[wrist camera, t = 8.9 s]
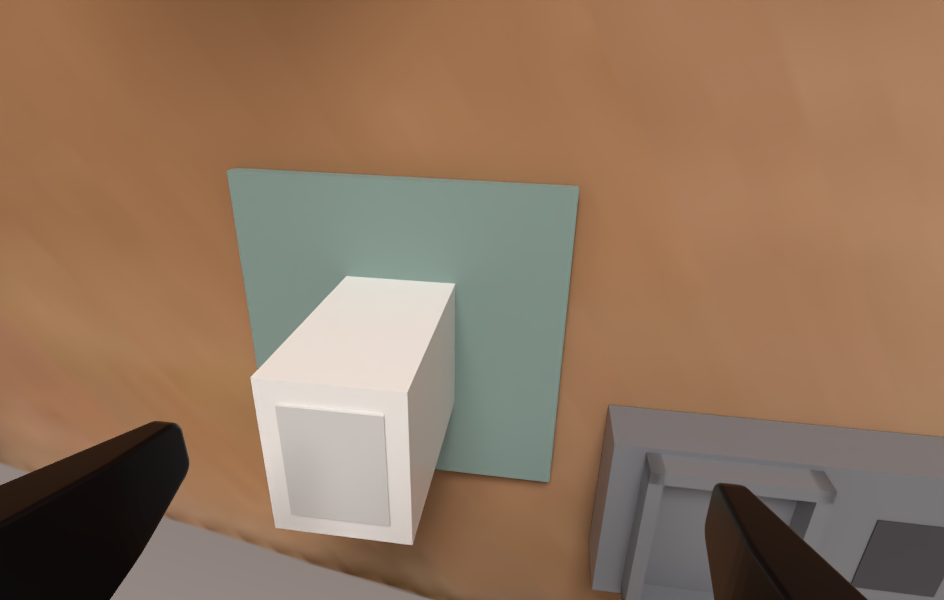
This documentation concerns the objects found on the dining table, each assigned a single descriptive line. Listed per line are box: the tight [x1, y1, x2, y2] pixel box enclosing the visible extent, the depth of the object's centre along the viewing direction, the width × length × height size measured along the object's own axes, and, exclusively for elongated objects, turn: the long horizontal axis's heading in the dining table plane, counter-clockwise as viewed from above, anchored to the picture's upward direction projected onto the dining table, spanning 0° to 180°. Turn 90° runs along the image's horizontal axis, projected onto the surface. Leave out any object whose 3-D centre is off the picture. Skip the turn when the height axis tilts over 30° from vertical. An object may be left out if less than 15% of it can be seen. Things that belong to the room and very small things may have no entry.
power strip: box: [589, 405, 944, 600], centre depth 20 cm, size 18×7×3 cm, turn 88°
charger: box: [250, 276, 455, 545], centre depth 18 cm, size 4×5×7 cm
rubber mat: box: [227, 168, 579, 482], centre depth 21 cm, size 12×12×1 cm
